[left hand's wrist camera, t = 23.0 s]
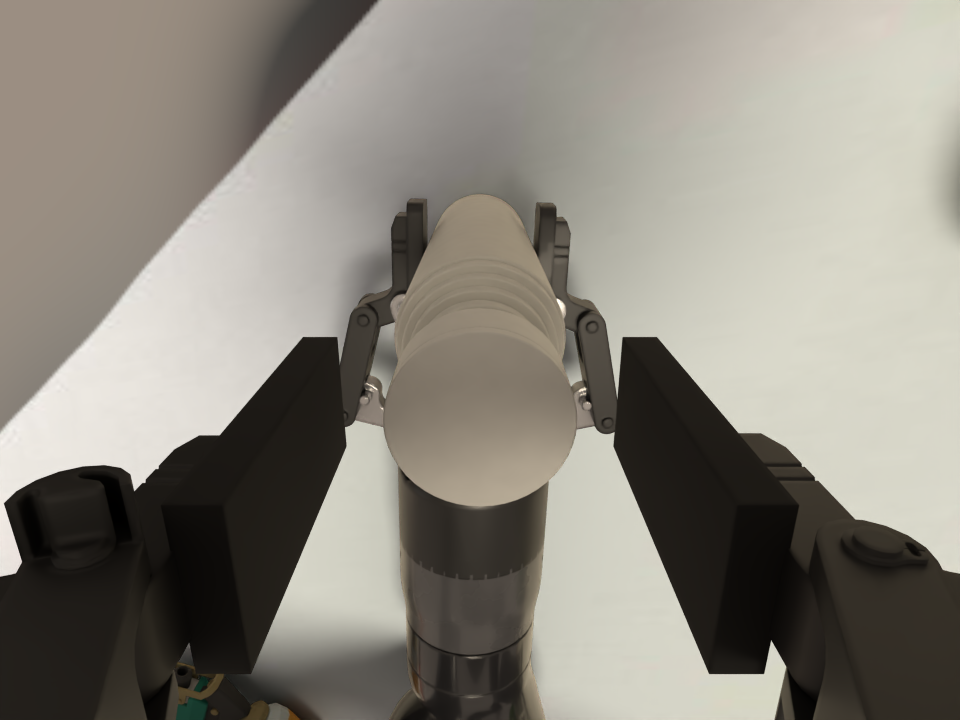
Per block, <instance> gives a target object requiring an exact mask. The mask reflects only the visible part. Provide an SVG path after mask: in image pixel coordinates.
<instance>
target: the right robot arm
mask: <svg viewBox="0 0 960 720" xmlns="http://www.w3.org/2000/svg"><path fill="white" fill-rule="evenodd" d="M570 236H571V233H570V230H569V227H568V224H567V221H566V220H565V219H564V218H563V217H556V206H555V205H554V204H553V203H536V211H535V229H534V246H533V248H534V250H535V252H536V255H537V257H538V259H539V261H540V264H541V266H542V268H543V270H544V272H545V275H546V277H547V279H548V281H549V283H550V286H551V288H552V290H553V292H554V295H555V297H556V299H557V301H558V303H559V306H560V309H561V311H562V314H563V319H564V323H565V328H566V329H569V330H572V331H574V334H575V340H576V346H577V352H578V357H579V363H580V369H581V375H582V381H579V382H576V383H574V384H573V385H572V386H571V389H572V392H573V395H574V398H575V403H576V409H577V428H576V429H582V428H587V427H592V426H595V427H596V429H597V430H598V431H599V432H600V433H603V434H611V433H613V432H615V423H616V411H617V395H616V388H615V381H614V375H613V368H612V362H611V355H610V349H609V342H608V336H607V329H606V323H605V321H604V319H603V317H602V316H601V314H600V313H599V311H598V310H597V308H596V307H595V305H594V304H593V303H592V302H591V301H589V300H581V299H579V298H576V297H574V296H571V295H570V294H568V293H567V290H566V287H567V274H568V261H569V247H570ZM391 241H392V287H391V288H390V289H388V290H386V291H383V292H380V293H377V294H374V293H369V294H366V295H364V296H363V297H362V299H361V300H360V302H359V304H358V306H357V307H356V308H355V309H354V310H353V312H352V313H351V315H350V319H349V324H348V329H347V333H346V338H345V343H344V348H343V352H342V357H341V362H340V375H341V387H342V399H343V411H344V423H345V427H348V426H350V425H352V424H353V423H354V421H355V420H357V421H361V422H365V423H369V424H373V425H377V426H381V427H384V426H383V411H384V404H385V398H384V397H383V394H382V384H381V382H380V380H379V379H378V378H376V377H374V376H371V375H370V371H371V367H372V363H373V358H374V354H375V350H376V345H377V341H378V336H379V332H380V328H381V326H384V325H387V324H390V323H393V322H395V323H396V319H397V315H398V312H399V309H400V307H401V304H402V302H403V299H404V297H405V295H406V293H407V291H408V288H409V286H410V284H411V282H412V279H413V277H414V275H415V273H416V270H417V268H418V266H419V264H420V262H421V259H422V257H423V255H424V253H425V250H426V248H427V199H410V200H409V201H408V202H407V212H399V213H398V214H397V215H396V217H395V219H394V222H393V225H392V227H391ZM398 480H399V527H400V569H401V583H402V589H403V594H404V598H405V604H406V639H407V667H408V675H409V679H410V682H411V686H412V688H411V689H410V690H409V691H408V692H407V693H406V694H405V695H404V696H403V697H402V698H401V699H400V701H399V702H398V704H397V705H396V707H395V709H394V711H393V712H392V714H391V716H390V718H389V720H546V719H545V715H544V711H543V708H542V704H541V700H540V697H539V693H538V689H537V685H536V680H535V677H534V674H533V671H532V667H531V664H530V661H531V649H532V635H533V621H534V609H535V605H536V600H537V597H538V593H539V588H540V583H541V574H542V562H543V549H544V536H545V523H546V510H547V497H548V484H549V481H548V482H547V483H545V484H544V485H543V486H541V487H540V488H539V489H537V490H536V491H534V492H532V493H531V494H529V495H527V496H525V497H522V498H520V499H518V500H515V501H512V502H508V503H505V504H500V505H494V506H466V505H460V504H455V503H452V502H448V501H445V500H443V499H440V498H438V497H435V496H433V495H432V494H430V493H428V492H426V491H424V490H423V489H422V488H420V487H419V486H417V485H416V484H415V483H414V482H413V481H412V480H410V479H409V478H408V477H407V476H406V475H405V473H404V472H403V471H402V470H401V469H400V467H399V466H398Z"/></svg>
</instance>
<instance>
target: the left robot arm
mask: <svg viewBox="0 0 960 720" xmlns="http://www.w3.org/2000/svg"><path fill="white" fill-rule="evenodd" d="M345 449H346V435H345V423H344V411H343V399H342V387H341V375H340V364H339V352H338V340H337V337H303V338H302V339H301V340H300V341H299V343H298V344H297V345H296V346H295V347H294V349H293V350H292V351H291V352H290V353H289V354H288V356H287V357H286V358H285V359H284V360H283V361H282V363H281V364H280V365H279V366H278V367H277V369H276V370H275V371H274V372H273V373H272V374H271V376H270V377H269V378H268V379H267V380H266V382H265V383H264V384H263V385H262V386H261V387H260V389H259V390H258V391H257V392H256V393H255V394H254V396H253V397H252V398H251V399H250V400H249V402H248V403H247V404H246V405H245V406H244V407H243V409H242V410H241V411H240V412H239V413H238V414H237V416H236V417H235V418H234V419H233V420H232V422H231V423H230V424H229V425H228V426H227V427H226V429H225V430H224V431H223V432H222V433H221V435H220V436H198V437H196V438H194V439H192V440H190V441H189V442H187V443H185V444H183V445H182V446H180V447H178V448H176V449H174V451H173V452H172V453H171V454H170V455H169V456H168V457H167V458H166V459H165V460H164V461H163V462H162V463H161V464H160V465H159V469H155V470H154V471H153V473H152V474H151V475H150V476H149V477H148V478H147V479H146V483H142V484H141V485H140V486H139V487H138V488H137V489H136V490H135V491H134V489H133V484H132V480H131V475H130V474H129V473H128V472H126V471H125V470H123V469H122V468H118V467H112V466H106V465H101V466H84V467H79V468H74V469H70V470H65V471H60V472H57V473H55V474H52V475H49V476H46V477H44V478H41V479H38V480H36V481H34V482H32V483H30V484H29V485H27V486H25V487H23V488H21V489H20V490H18V491H16V492H15V493H14V494H13V495H12V496H11V497H10V498H9V499H8V500H7V501H6V502H5V503H4V505H5V508H6V511H7V515H8V518H9V521H10V524H11V527H12V531H13V534H14V537H15V540H16V543H17V547H18V550H19V553H20V556H21V560H22V563H21V565H20V567H19V569H18V571H17V573H16V574H12V575H7V576H2V577H0V720H176V714H177V707H178V700H179V693H178V685H177V680H176V676H175V671H174V668H175V667H176V665H177V663H178V661H179V660H180V658H181V656H182V654H183V652H184V651H185V649H186V647H187V645H188V644H189V643H190V648H191V653H192V657H193V662H194V667H195V672H196V674H251V672H252V670H253V668H254V665H255V663H256V660H257V658H258V656H259V653H260V651H261V649H262V646H263V644H264V641H265V639H266V637H267V634H268V632H269V630H270V627H271V625H272V622H273V620H274V618H275V615H276V613H277V610H278V608H279V606H280V603H281V601H282V599H283V596H284V594H285V591H286V589H287V587H288V584H289V582H290V580H291V577H292V575H293V572H294V570H295V568H296V565H297V563H298V561H299V558H300V556H301V553H302V551H303V549H304V546H305V544H306V542H307V539H308V537H309V534H310V532H311V530H312V527H313V525H314V522H315V520H316V518H317V515H318V513H319V511H320V508H321V506H322V503H323V501H324V499H325V496H326V494H327V492H328V489H329V487H330V484H331V482H332V480H333V477H334V475H335V473H336V470H337V468H338V465H339V463H340V461H341V458H342V456H343V454H344V451H345ZM614 449H615V451H616V454H617V456H618V458H619V461H620V463H621V465H622V468H623V470H624V473H625V475H626V477H627V480H628V482H629V484H630V487H631V489H632V492H633V494H634V496H635V499H636V501H637V503H638V506H639V508H640V511H641V513H642V515H643V518H644V520H645V522H646V525H647V527H648V530H649V532H650V534H651V537H652V539H653V542H654V544H655V546H656V549H657V551H658V553H659V556H660V558H661V561H662V563H663V565H664V568H665V570H666V572H667V575H668V577H669V580H670V582H671V584H672V587H673V589H674V591H675V594H676V596H677V599H678V601H679V603H680V606H681V608H682V610H683V613H684V615H685V618H686V620H687V622H688V625H689V627H690V630H691V632H692V634H693V637H694V639H695V641H696V644H697V646H698V649H699V651H700V653H701V656H702V658H703V660H704V663H705V665H706V668H707V670H708V672H709V674H764V672H765V667H766V662H767V657H768V653H769V648H770V643H771V640H772V642H773V644H774V646H775V647H776V649H777V651H778V653H779V654H780V656H781V658H782V660H783V661H784V663H785V665H786V671H785V676H784V680H783V684H782V689H781V693H780V698H779V702H778V707H777V711H776V716H775V720H960V574H958V573H953V572H948V571H944V570H942V568H941V566H940V564H939V562H938V561H937V560H936V558H935V557H934V556H933V555H932V554H931V553H930V551H929V550H928V549H927V548H926V547H924V546H923V545H921V544H920V543H918V542H917V541H915V540H914V539H912V538H911V537H909V536H908V535H906V534H903V533H901V532H899V531H896V530H894V529H892V528H889V527H887V526H884V525H880V524H876V523H872V522H868V521H864V520H855V519H854V518H853V517H852V516H851V515H850V513H849V512H848V511H847V510H846V509H845V508H844V507H843V506H842V505H841V504H840V503H839V502H838V501H837V500H836V499H835V498H834V497H833V496H832V495H831V494H830V493H829V492H828V491H827V490H826V489H825V487H824V486H823V485H822V484H821V483H820V482H819V481H815V477H814V476H813V475H812V474H811V473H810V472H809V471H808V470H807V469H806V468H805V467H802V464H801V462H800V461H799V460H798V459H797V458H796V457H795V456H794V455H793V454H792V453H791V452H790V451H789V450H788V449H787V448H786V447H784V446H783V445H781V444H779V443H777V442H775V441H774V440H772V439H770V438H768V437H766V436H765V435H763V434H761V433H738V432H737V431H736V430H735V429H734V427H733V426H732V425H731V424H730V423H729V422H728V420H727V419H726V418H725V417H724V416H723V415H722V413H721V412H720V411H719V410H718V409H717V407H716V406H715V405H714V404H713V403H712V402H711V400H710V399H709V398H708V397H707V396H706V394H705V393H704V392H703V391H702V390H701V389H700V387H699V386H698V385H697V384H696V383H695V382H694V380H693V379H692V378H691V377H690V376H689V374H688V373H687V372H686V371H685V370H684V369H683V367H682V366H681V365H680V364H679V363H678V361H677V360H676V359H675V358H674V357H673V356H672V354H671V353H670V352H669V351H668V350H667V349H666V347H665V346H664V345H663V344H662V343H661V341H660V340H659V339H658V338H657V337H623V340H622V352H621V364H620V375H619V387H618V399H617V411H616V423H615V435H614Z"/></svg>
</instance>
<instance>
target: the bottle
mask: <svg viewBox="0 0 960 720" xmlns="http://www.w3.org/2000/svg"><path fill="white" fill-rule="evenodd" d="M474 308H486V309H495V310H501V311H505V312H508V313H511V314H514V315H516V316H518V317H521V318H523V319H525V320H526V321H528V322H529V323H531V324H533V325H534V326H535V327H537V328H538V329H539V330H540V331H541V332H542V333H543V334H544V335H545V336H546V337H547V338H548V339H549V340H550V341H551V343H552V344H553V346H554V347H555V349H556V350H557V352H558V354H559V356H560V358H561V360H562V358H563V354H564V349H565V339H566V333H565V323H564V319H563V314H562V311H561V309H560V306H559V303H558V301H557V299H556V297H555V295H554V292H553V290H552V288H551V286H550V283H549V281H548V279H547V277H546V275H545V272H544V270H543V268H542V266H541V264H540V261H539V259H538V257H537V255H536V252H535V250H534V248H533V246H532V244H531V241H530V239H529V237H528V235H527V232H526V230H525V228H524V226H523V224H522V221H521V219H520V218H519V216H518V214H517V213H516V211H515V210H514V209H513V208H512V207H511V206H510V205H509V204H507V203H506V202H505V201H503V200H501V199H499V198H497V197H494V196H491V195H485V194H475V195H470V196H466V197H463V198H461V199H459V200H457V201H455V202H454V203H453V204H451V205H450V206H449V207H448V208H447V209H446V210H445V212H444V213H443V214H442V216H441V218H440V219H439V221H438V224H437V226H436V228H435V230H434V233H433V235H432V237H431V239H430V241H429V244H428V246H427V248H426V250H425V253H424V255H423V257H422V259H421V262H420V264H419V266H418V268H417V270H416V273H415V275H414V277H413V279H412V282H411V284H410V286H409V288H408V291H407V293H406V295H405V297H404V299H403V302H402V304H401V307H400V309H399V312H398V315H397V319H396V324H395V348H396V353H397V357H398V361H399V359H400V357H401V355H402V353H403V351H404V349H405V348H406V346H407V345H408V343H409V342H410V341H411V339H412V338H413V337H414V336H415V335H416V334H417V333H418V332H419V331H420V330H421V329H422V328H424V327H425V326H426V325H428V324H429V323H431V322H432V321H434V320H436V319H438V318H440V317H442V316H444V315H446V314H449V313H452V312H455V311H460V310H465V309H474Z"/></svg>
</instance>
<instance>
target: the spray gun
mask: <svg viewBox="0 0 960 720" xmlns="http://www.w3.org/2000/svg"><path fill="white" fill-rule="evenodd" d="M174 671H175V676H176V680H177V685H178V693H179V700H178V707H177V714H176V720H300V719H299V718H298V717H297V716H296V715H295V714H294V713H293V712H292V711H291V710H290V709H288V708H287V707H284V706H282V705H280V704H278V703H273V704H269V705H268V704H267V703H266V702H264V701H262V700H260V701H256V702H254V703H253V704H251V705H250V704H249V702H248V701H247V700H246V699H245V698H244V697H243V696H242V695H241V694H240V692H239V691H238V690H237V689H236V688H235V687H234V686H233V685H232V684H231V683H230V682H229V681H228V680H227V678H226V677H224V674H196V672H195V667H194V666H190V665H187V664H184V663H180V662H178V663H177V665H176V667H175V669H174ZM198 675H201V676H202V677H201V678H200V679H199V680H198ZM203 676H205V677H203ZM206 677H208V678H214V677H215V678H214V679H212V680H211V681H210V682H208V680H207V678H206Z"/></svg>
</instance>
